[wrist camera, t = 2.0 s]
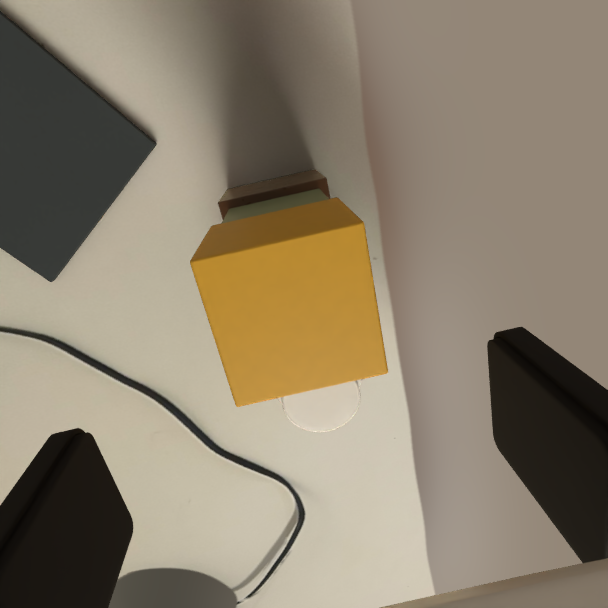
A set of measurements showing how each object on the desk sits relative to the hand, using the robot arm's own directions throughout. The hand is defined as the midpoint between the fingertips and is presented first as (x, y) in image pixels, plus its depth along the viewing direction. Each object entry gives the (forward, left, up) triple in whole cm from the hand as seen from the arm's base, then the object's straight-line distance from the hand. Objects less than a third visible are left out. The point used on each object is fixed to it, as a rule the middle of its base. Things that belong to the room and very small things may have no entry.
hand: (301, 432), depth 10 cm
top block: (0, 0, -12) cm, 12 cm away
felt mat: (+8, -16, -25) cm, 30 cm away
